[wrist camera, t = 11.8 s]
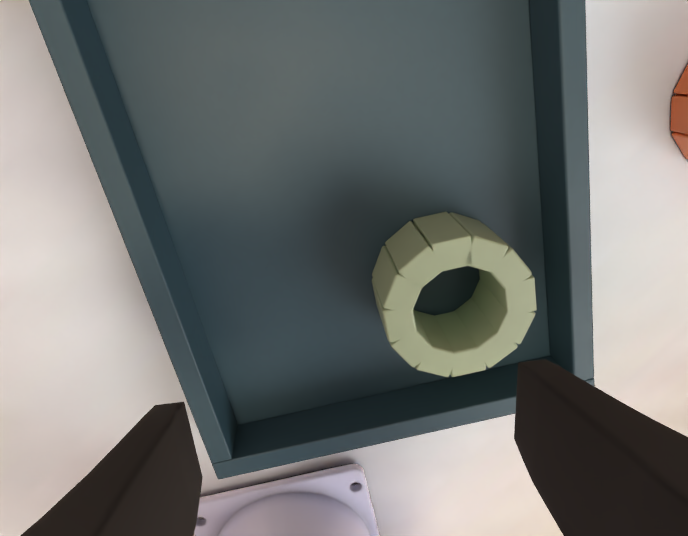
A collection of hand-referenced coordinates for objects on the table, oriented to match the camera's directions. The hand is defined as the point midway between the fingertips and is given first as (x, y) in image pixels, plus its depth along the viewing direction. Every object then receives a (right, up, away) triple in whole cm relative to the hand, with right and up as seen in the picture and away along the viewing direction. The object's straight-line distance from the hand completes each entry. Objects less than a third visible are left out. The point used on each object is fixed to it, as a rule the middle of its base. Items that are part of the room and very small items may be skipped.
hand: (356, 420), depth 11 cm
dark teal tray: (0, +6, +7) cm, 9 cm away
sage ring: (+3, +3, +8) cm, 9 cm away
